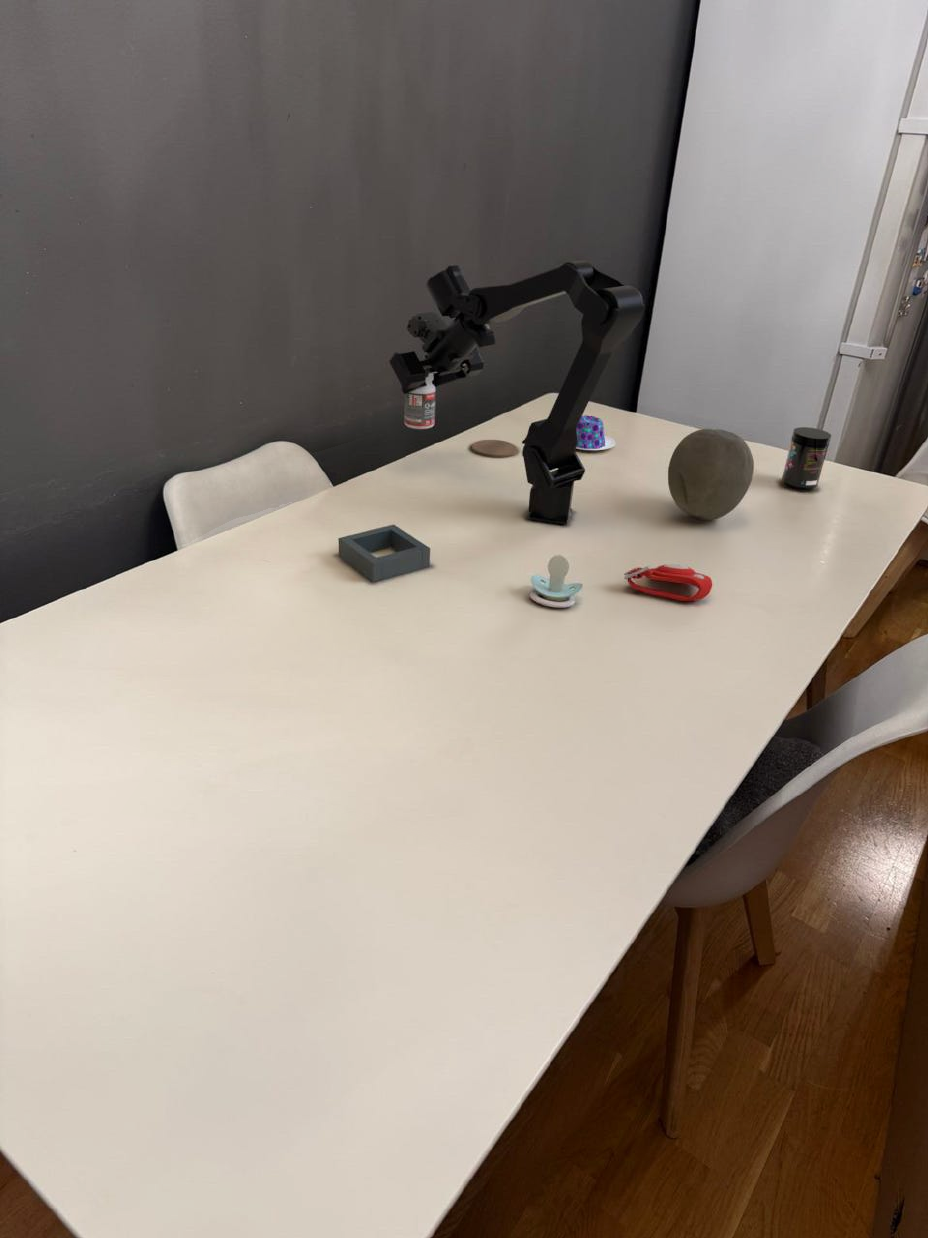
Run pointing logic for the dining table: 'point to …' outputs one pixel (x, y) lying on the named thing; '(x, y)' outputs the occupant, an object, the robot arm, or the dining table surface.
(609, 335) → the robot arm
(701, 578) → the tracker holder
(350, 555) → the bottle stand
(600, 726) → the dining table surface
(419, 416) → the pill bottle
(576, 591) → the pacifier
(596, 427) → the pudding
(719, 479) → the grey brown round stone
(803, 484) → the supplement container
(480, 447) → the coaster
